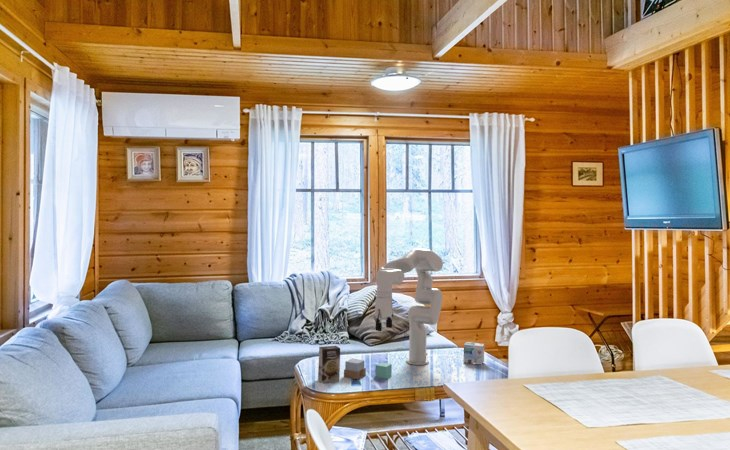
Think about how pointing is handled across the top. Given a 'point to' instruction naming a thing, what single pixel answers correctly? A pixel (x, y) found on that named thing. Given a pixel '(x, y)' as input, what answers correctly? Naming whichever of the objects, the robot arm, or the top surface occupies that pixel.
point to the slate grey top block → (354, 365)
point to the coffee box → (329, 364)
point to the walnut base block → (355, 374)
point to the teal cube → (383, 370)
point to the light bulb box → (473, 353)
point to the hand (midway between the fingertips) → (383, 329)
